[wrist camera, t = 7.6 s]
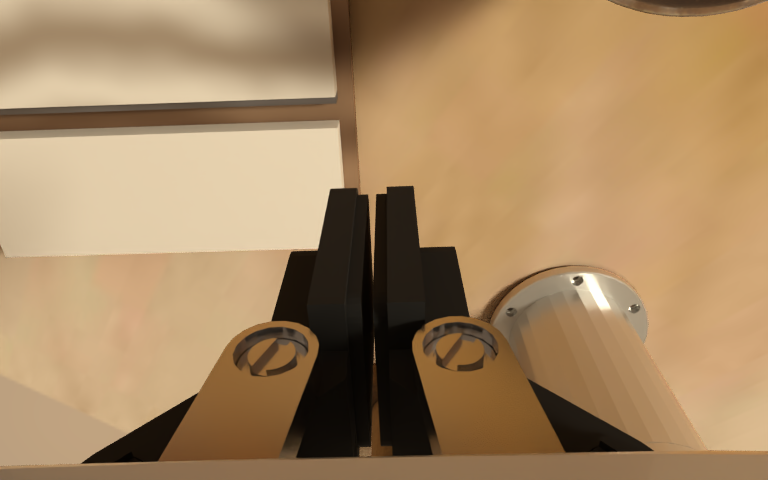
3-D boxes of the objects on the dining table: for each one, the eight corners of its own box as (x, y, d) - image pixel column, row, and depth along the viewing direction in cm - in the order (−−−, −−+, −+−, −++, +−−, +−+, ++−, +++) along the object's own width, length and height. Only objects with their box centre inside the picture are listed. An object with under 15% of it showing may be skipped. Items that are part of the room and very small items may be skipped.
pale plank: (348, 236, 41) (346, 247, 40) (18, 246, 42) (5, 257, 40) (339, 120, 37) (337, 127, 36) (-28, 132, 37) (-44, 140, 36)
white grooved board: (362, 227, 42) (361, 246, 40) (15, 237, 43) (-8, 257, 40) (347, -26, 34) (344, -21, 31) (-85, -9, 34) (-121, -3, 32)
